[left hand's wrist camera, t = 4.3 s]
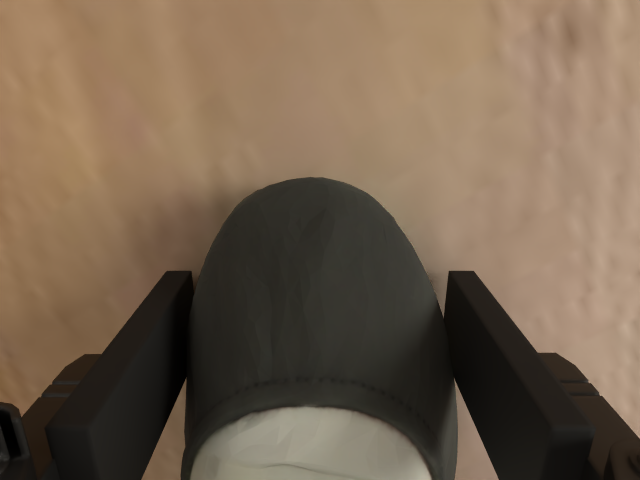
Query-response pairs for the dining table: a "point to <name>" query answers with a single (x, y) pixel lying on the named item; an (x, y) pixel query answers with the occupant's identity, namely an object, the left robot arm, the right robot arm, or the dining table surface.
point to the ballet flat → (316, 346)
